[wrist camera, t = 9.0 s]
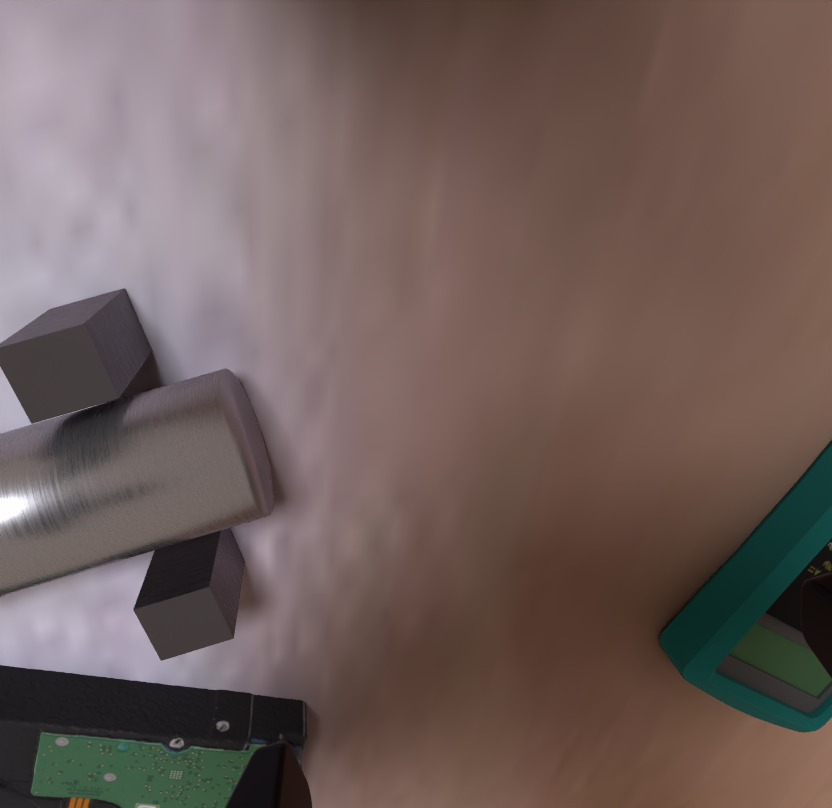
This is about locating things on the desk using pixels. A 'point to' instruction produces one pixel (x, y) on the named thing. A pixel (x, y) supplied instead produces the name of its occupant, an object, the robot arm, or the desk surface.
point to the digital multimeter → (764, 614)
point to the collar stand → (105, 381)
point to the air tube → (129, 479)
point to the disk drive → (131, 741)
